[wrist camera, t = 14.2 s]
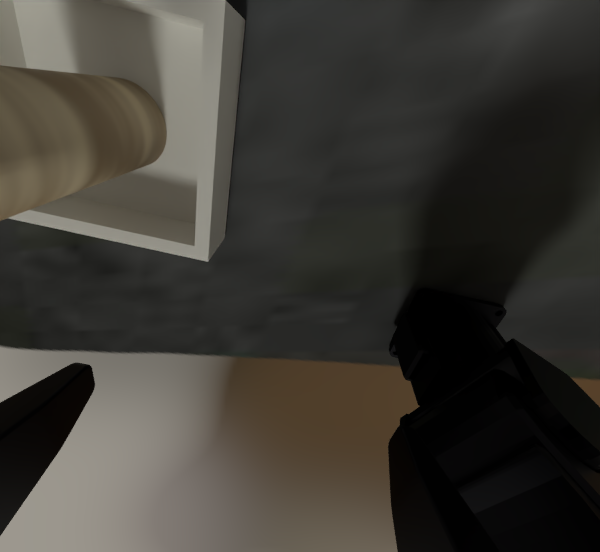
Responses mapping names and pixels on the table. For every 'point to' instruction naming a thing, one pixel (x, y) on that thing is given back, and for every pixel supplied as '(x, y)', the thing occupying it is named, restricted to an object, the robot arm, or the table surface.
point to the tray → (169, 97)
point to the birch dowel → (70, 134)
